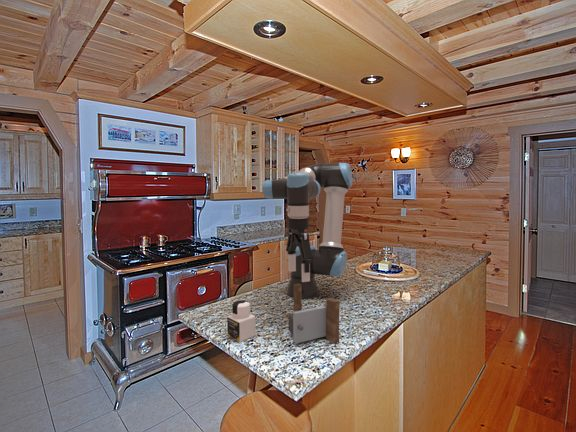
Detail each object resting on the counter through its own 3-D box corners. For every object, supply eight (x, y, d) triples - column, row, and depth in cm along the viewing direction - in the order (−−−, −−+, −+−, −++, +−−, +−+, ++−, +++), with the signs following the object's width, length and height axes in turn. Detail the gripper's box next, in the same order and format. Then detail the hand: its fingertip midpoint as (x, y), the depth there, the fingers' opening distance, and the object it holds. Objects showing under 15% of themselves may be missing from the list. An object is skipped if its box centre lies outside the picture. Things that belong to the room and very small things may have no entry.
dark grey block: (306, 327, 119) (306, 311, 118) (312, 334, 113) (312, 317, 113) (288, 329, 117) (288, 313, 116) (293, 337, 111) (293, 320, 110)
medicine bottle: (227, 335, 112) (226, 302, 111) (243, 329, 117) (243, 297, 116) (239, 342, 107) (238, 307, 106) (256, 335, 112) (255, 302, 111)
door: (293, 342, 106) (293, 310, 105) (327, 334, 112) (327, 303, 111) (297, 346, 103) (297, 313, 102) (332, 337, 109) (332, 306, 108)
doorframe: (298, 318, 127) (298, 283, 126) (339, 341, 107) (339, 300, 106) (293, 319, 125) (293, 284, 124) (333, 343, 106) (333, 302, 105)
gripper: (277, 214, 124) (278, 268, 126) (301, 221, 101) (301, 287, 103) (295, 213, 127) (296, 266, 129) (323, 220, 103) (323, 285, 105)
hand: (298, 276), depth 116 cm, fingers open, 13 cm apart
